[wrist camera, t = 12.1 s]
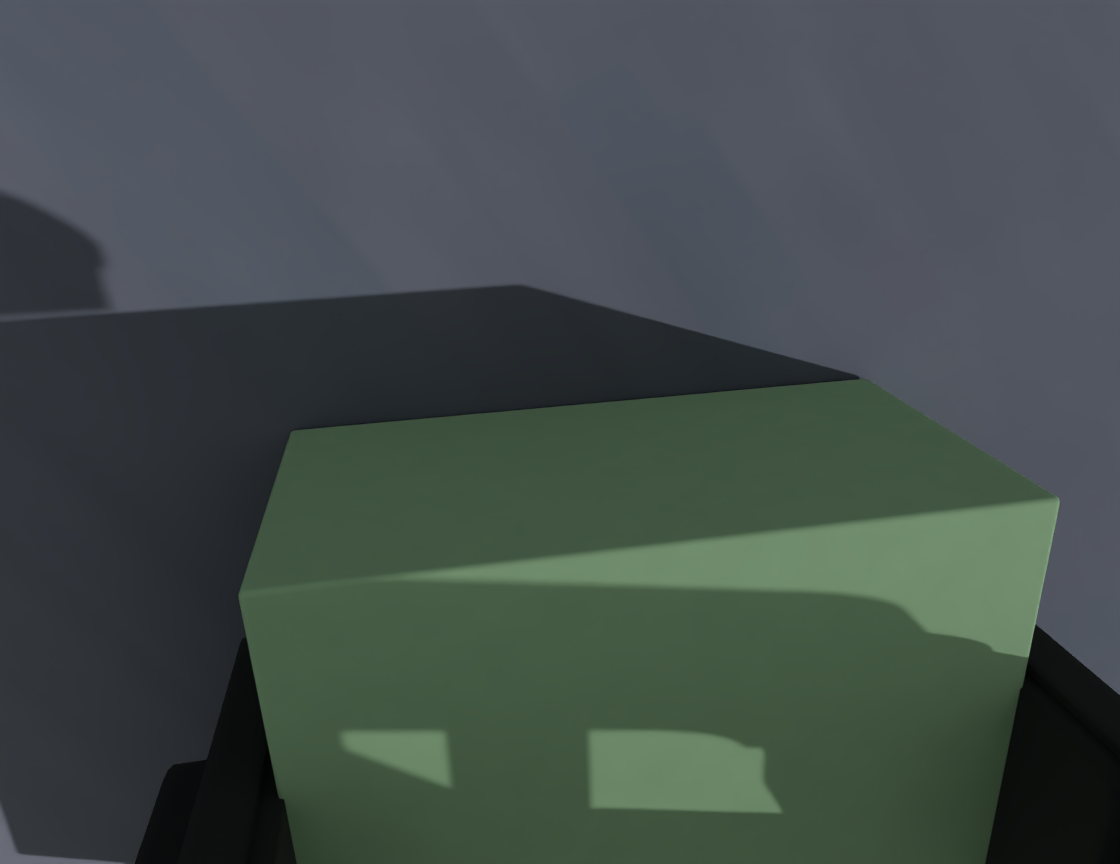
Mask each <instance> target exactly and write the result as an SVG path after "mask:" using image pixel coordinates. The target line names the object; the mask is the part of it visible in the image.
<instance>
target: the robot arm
mask: <svg viewBox="0 0 1120 864" xmlns="http://www.w3.org/2000/svg"><path fill="white" fill-rule="evenodd" d="M135 864H297V862H296V857H295V852H294V847H293V842H292V836H291V831H290V826H289V821H288V816H287V811H286V806H285V801H284V799H279V796H278V793H277V788H276V783H275V778H274V773H273V768H272V763H271V758H270V753H269V748H268V743H267V738H266V733H265V728H264V723H263V718H262V713H261V708H260V703H259V698H258V693H257V688H256V683H255V678H254V673H253V668H252V663H251V658H250V653H249V648H248V643H247V638H243V639H242V641H241V643H240V646H239V650H238V653H237V657H236V660H235V664H234V667H233V671H232V674H231V678H230V681H229V685H228V688H227V692H226V695H225V699H224V702H223V706H222V709H221V713H220V716H219V720H218V723H217V727H216V730H215V734H214V737H213V741H212V744H211V748H210V751H209V755H208V758H207V760H203V761H196V762H189V763H182V764H175V765H173V766H172V767H171V768H170V769H169V770H168V771H167V774H166V776H165V778H164V780H163V783H162V785H161V788H160V791H159V794H158V797H157V800H156V803H155V806H154V809H153V812H152V815H151V818H150V821H149V824H148V826H147V829H146V832H145V835H144V838H143V841H142V844H141V847H140V850H139V853H138V856H137V859H136V862H135ZM985 864H1120V695H1119V694H1117V693H1116V692H1115V691H1114V690H1113V689H1112V688H1110V687H1109V686H1108V685H1107V684H1106V683H1104V682H1103V681H1102V680H1101V679H1100V678H1099V677H1097V676H1096V675H1095V674H1094V673H1093V672H1091V671H1090V670H1089V669H1088V668H1087V667H1085V666H1084V665H1083V664H1082V663H1081V662H1080V661H1078V660H1077V659H1076V658H1075V657H1074V656H1072V655H1071V654H1070V653H1069V652H1068V651H1067V650H1065V649H1064V648H1063V647H1062V646H1061V645H1059V644H1058V643H1057V642H1056V641H1055V640H1053V639H1052V638H1051V637H1050V636H1049V635H1048V634H1046V633H1045V632H1044V631H1043V630H1042V629H1040V628H1039V627H1038V626H1037V625H1036V624H1035V628H1034V633H1033V638H1032V643H1031V648H1030V653H1029V658H1028V663H1027V668H1026V673H1025V678H1024V682H1023V687H1022V688H1021V689H1020V692H1019V697H1018V702H1017V707H1016V712H1015V717H1014V722H1013V727H1012V732H1011V737H1010V742H1009V747H1008V752H1007V757H1006V762H1005V767H1004V772H1003V777H1002V782H1001V787H1000V792H999V797H998V802H997V807H996V812H995V817H994V822H993V827H992V832H991V837H990V842H989V847H988V852H987V857H986V862H985Z"/></svg>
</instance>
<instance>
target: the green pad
mask: <svg viewBox="0 0 1120 864" xmlns="http://www.w3.org/2000/svg"><path fill="white" fill-rule="evenodd" d="M1059 504H1060V501H1059V498H1058V497H1057V496H1055V495H1054V494H1052V493H1050V492H1049V491H1047V490H1045V489H1044V488H1042V487H1041V486H1039V485H1037V484H1036V483H1034V482H1033V481H1031V480H1029V479H1028V478H1026V477H1024V476H1023V475H1021V474H1020V473H1018V472H1016V471H1015V470H1013V469H1012V468H1010V467H1008V466H1007V465H1005V464H1003V463H1002V462H1000V461H999V460H997V459H995V458H994V457H992V456H990V455H989V454H987V453H986V452H984V451H982V450H981V449H979V448H978V447H976V446H974V445H973V444H971V443H969V442H968V441H966V440H965V439H963V438H961V437H960V436H958V435H957V434H955V433H953V432H952V431H950V430H948V429H947V428H945V427H944V426H942V425H940V424H939V423H937V422H935V421H934V420H932V419H931V418H929V417H927V416H926V415H924V414H923V413H921V412H919V411H918V410H916V409H914V408H913V407H911V406H910V405H908V404H906V403H905V402H903V401H902V400H900V399H898V398H897V397H895V396H893V395H892V394H890V393H889V392H887V391H885V390H884V389H882V388H880V387H879V386H877V385H876V384H874V383H872V382H871V381H869V380H867V379H857V380H846V381H834V382H823V383H812V384H801V385H790V386H779V387H768V388H757V389H746V390H735V391H724V392H713V393H702V394H691V395H680V396H669V397H658V398H647V399H635V400H624V401H613V402H602V403H591V404H580V405H569V406H558V407H547V408H536V409H525V410H514V411H503V412H492V413H481V414H470V415H459V416H448V417H436V418H425V419H414V420H403V421H392V422H381V423H370V424H359V425H348V426H337V427H326V428H315V429H304V430H294V431H292V432H291V433H290V436H289V439H288V442H287V445H286V448H285V451H284V454H283V458H282V461H281V464H280V467H279V470H278V473H277V476H276V479H275V483H274V486H273V489H272V492H271V495H270V498H269V501H268V504H267V507H266V511H265V514H264V517H263V520H262V523H261V526H260V529H259V532H258V536H257V539H256V542H255V545H254V548H253V551H252V554H251V557H250V560H249V564H248V567H247V570H246V573H245V576H244V579H243V582H242V585H241V589H240V592H239V595H238V598H239V603H240V608H241V613H242V618H243V623H244V628H245V633H246V638H247V643H248V648H249V653H250V658H251V663H252V668H253V673H254V678H255V683H256V688H257V693H258V698H259V703H260V708H261V713H262V718H263V723H264V728H265V733H266V738H267V743H268V748H269V753H270V758H271V763H272V768H273V773H274V778H275V783H276V788H277V793H278V796H279V799H284V801H285V806H286V811H287V816H288V821H289V826H290V831H291V836H292V842H293V847H294V852H295V857H296V862H297V864H985V862H986V857H987V852H988V847H989V842H990V837H991V832H992V827H993V822H994V817H995V812H996V807H997V802H998V797H999V792H1000V787H1001V782H1002V777H1003V772H1004V767H1005V762H1006V757H1007V752H1008V747H1009V742H1010V737H1011V732H1012V727H1013V722H1014V717H1015V712H1016V707H1017V702H1018V697H1019V692H1020V689H1021V688H1022V687H1023V682H1024V678H1025V673H1026V668H1027V663H1028V658H1029V653H1030V648H1031V643H1032V638H1033V633H1034V628H1035V623H1036V618H1037V613H1038V608H1039V603H1040V598H1041V593H1042V588H1043V583H1044V578H1045V574H1046V569H1047V564H1048V559H1049V554H1050V549H1051V544H1052V539H1053V534H1054V529H1055V524H1056V519H1057V514H1058V509H1059Z"/></svg>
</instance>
